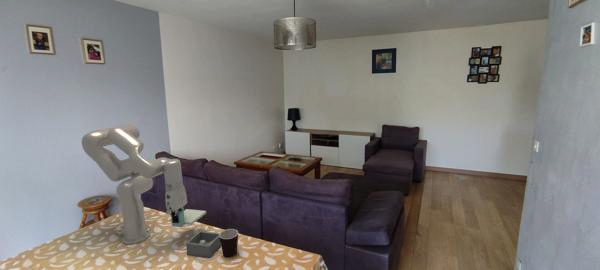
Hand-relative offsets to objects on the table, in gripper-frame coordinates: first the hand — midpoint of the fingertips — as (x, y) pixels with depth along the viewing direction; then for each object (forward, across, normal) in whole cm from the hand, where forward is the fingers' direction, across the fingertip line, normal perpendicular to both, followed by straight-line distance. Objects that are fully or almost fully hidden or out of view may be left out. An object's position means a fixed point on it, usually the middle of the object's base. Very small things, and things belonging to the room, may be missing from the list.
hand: (178, 220), depth 135 cm
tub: (+13, -2, -15) cm, 19 cm away
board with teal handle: (+2, +7, 0) cm, 7 cm away
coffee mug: (+13, 0, -28) cm, 31 cm away
